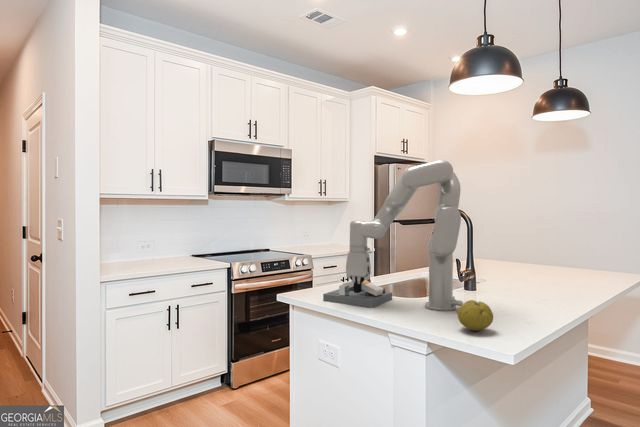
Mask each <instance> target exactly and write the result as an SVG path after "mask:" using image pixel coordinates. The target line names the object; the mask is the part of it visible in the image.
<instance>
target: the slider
mask: <svg viewBox="0 0 640 427" xmlns="http://www.w3.org/2000/svg"><path fill="white" fill-rule="evenodd" d="M338 287H339V288H338V289H339V295H343V296H345V295H348V294H349V285H345V284H344V285H342V284H341V285H339V286H338Z"/></svg>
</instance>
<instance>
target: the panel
mask: <svg viewBox="0 0 640 427" xmlns="http://www.w3.org/2000/svg"><path fill="white" fill-rule="evenodd" d="M382 288H383V293H382V294H380V295H378V296H375V295H373V294H371V293H369V292H367V291H365V290H363V289H362V290H361V292H360V293H354V286H353V287H349V294H348V295H345V296H343V295H339V288H338V289H335V290H331V291H328V292H326V293H323V296H322V299H323V302H330V303H337V304H342V305H350V306H355V307H361V308H362V307H363V308H369V309H373V308H375V307H378V306H380V305H383V304H385V303H386V302H389V301H391V300H393V292H389V291H386V288H385V287H382Z"/></svg>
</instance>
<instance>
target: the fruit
mask: <svg viewBox="0 0 640 427" xmlns="http://www.w3.org/2000/svg"><path fill="white" fill-rule="evenodd" d="M456 312H457V319H458V321H459V323H460V324H461V325H462V326H463V327H465V328H466V329H468V330H470V331H471V332H481V331H484V330H485V329H487V328H489V327H490V325H492V323H493V321H494V313H493V311H492V309H491V307H490V306H489V305H488V304H487V303H485V302H483V301H476V300H473V299H471V300H468V301H466V302H463V304H462V305H461V306H459V307H458V308H457V311H456Z"/></svg>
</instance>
